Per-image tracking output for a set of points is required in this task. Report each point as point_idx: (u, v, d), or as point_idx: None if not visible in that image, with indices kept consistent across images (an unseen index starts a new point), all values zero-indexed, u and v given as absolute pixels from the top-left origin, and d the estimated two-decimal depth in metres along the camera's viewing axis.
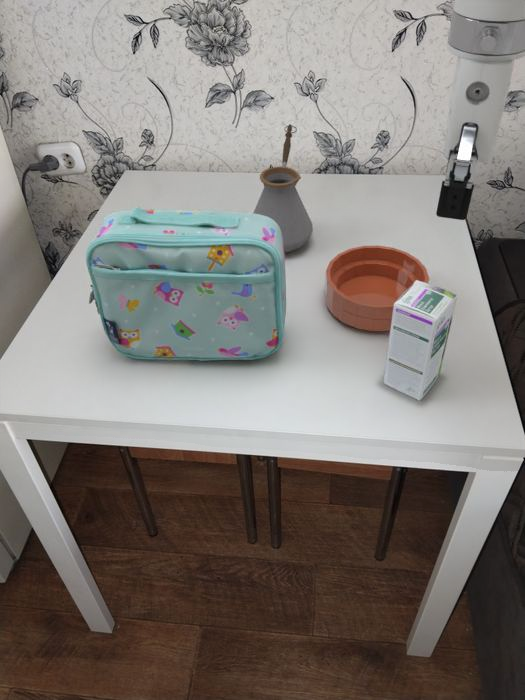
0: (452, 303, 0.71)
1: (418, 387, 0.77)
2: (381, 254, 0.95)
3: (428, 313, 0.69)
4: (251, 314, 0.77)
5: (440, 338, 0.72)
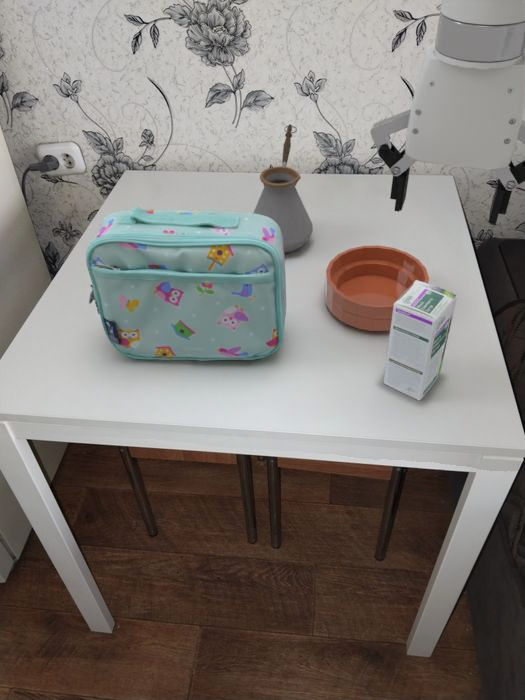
0: (452, 303, 0.71)
1: (418, 387, 0.77)
2: (381, 254, 0.95)
3: (428, 313, 0.69)
4: (251, 314, 0.77)
5: (440, 338, 0.72)
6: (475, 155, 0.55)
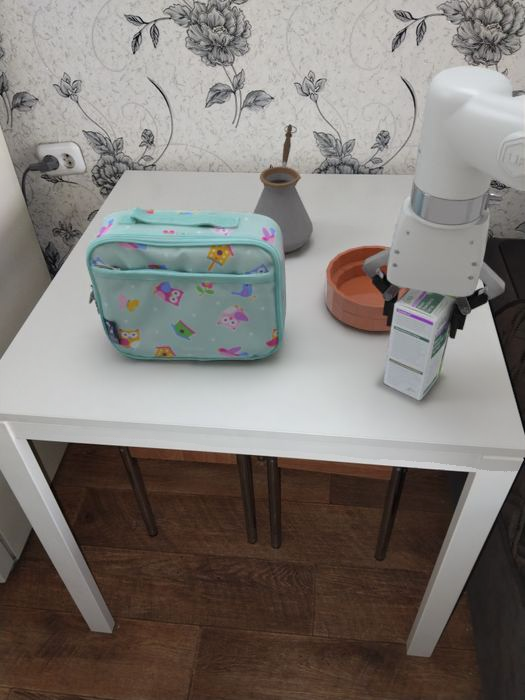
0: (453, 304, 0.71)
1: (418, 387, 0.77)
2: None
3: (429, 313, 0.69)
4: (251, 314, 0.77)
5: (440, 338, 0.72)
6: (445, 286, 0.66)
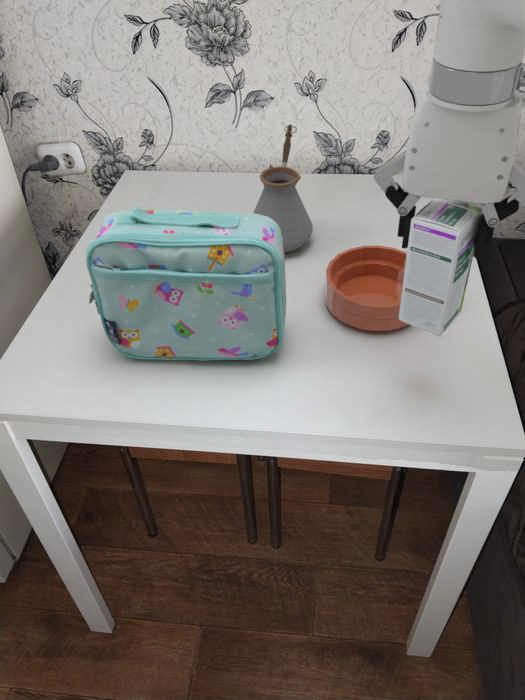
0: (478, 218, 0.62)
1: (439, 320, 0.68)
2: (381, 254, 0.95)
3: (451, 226, 0.60)
4: (251, 314, 0.77)
5: (464, 260, 0.64)
6: (470, 190, 0.58)
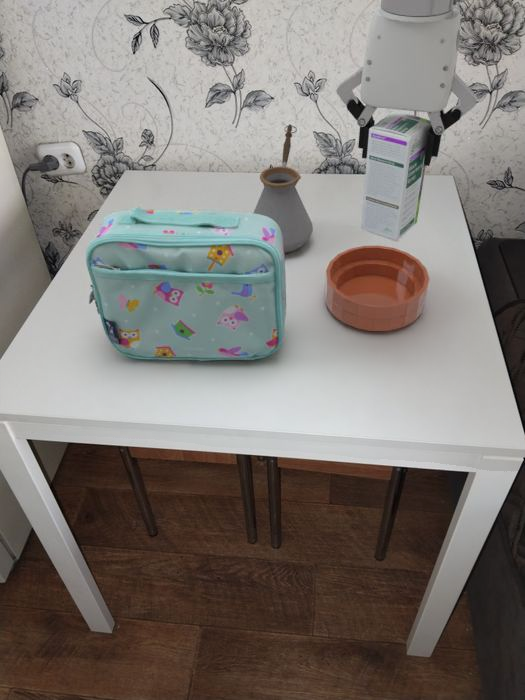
0: (427, 129, 0.71)
1: (395, 225, 0.77)
2: (381, 254, 0.95)
3: (402, 133, 0.69)
4: (251, 314, 0.77)
5: (415, 167, 0.73)
6: (417, 99, 0.66)
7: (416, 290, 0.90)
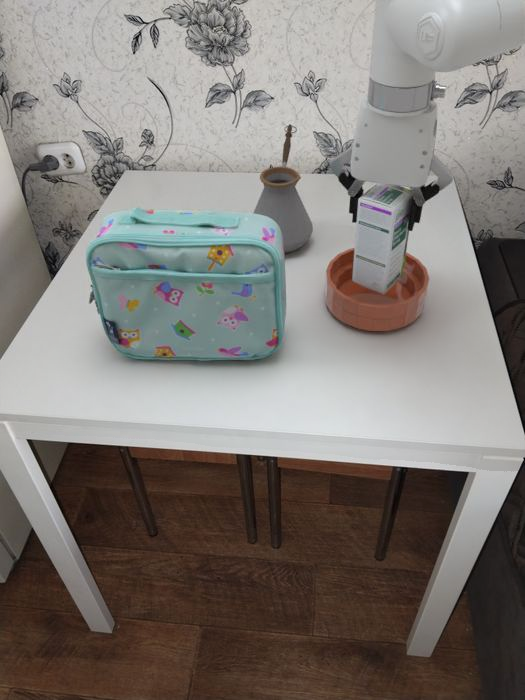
0: (410, 198, 0.80)
1: (382, 281, 0.85)
2: None
3: (387, 204, 0.77)
4: (251, 314, 0.77)
5: (400, 231, 0.81)
6: (400, 176, 0.75)
7: (416, 290, 0.90)
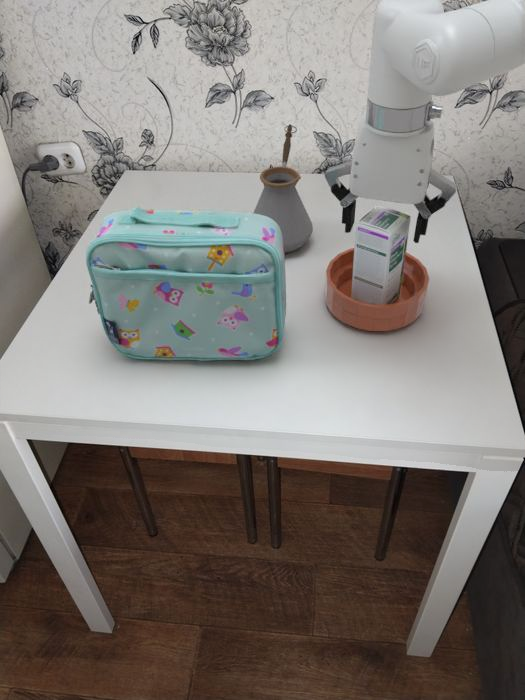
0: (406, 223, 0.82)
1: (380, 301, 0.88)
2: None
3: (384, 229, 0.80)
4: (251, 314, 0.77)
5: (397, 254, 0.84)
6: (398, 193, 0.77)
7: (416, 290, 0.90)
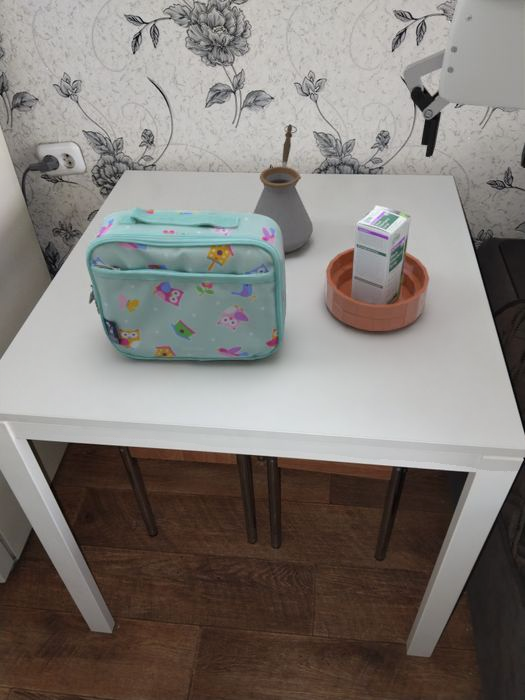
0: (406, 223, 0.82)
1: (380, 301, 0.88)
2: None
3: (384, 229, 0.80)
4: (251, 314, 0.77)
5: (397, 254, 0.84)
6: (510, 93, 0.55)
7: (416, 290, 0.90)
